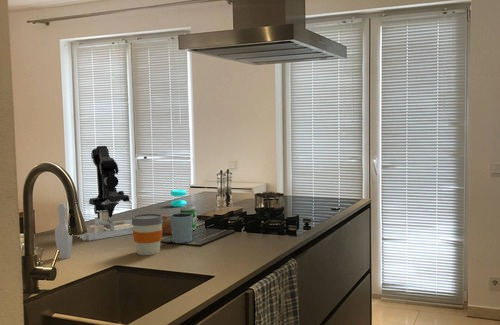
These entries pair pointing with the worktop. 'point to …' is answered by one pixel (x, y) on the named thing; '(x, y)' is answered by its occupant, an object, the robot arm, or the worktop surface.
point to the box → (85, 234)
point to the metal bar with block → (104, 220)
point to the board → (120, 226)
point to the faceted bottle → (63, 233)
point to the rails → (111, 231)
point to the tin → (166, 225)
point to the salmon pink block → (93, 227)
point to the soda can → (191, 210)
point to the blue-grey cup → (181, 227)
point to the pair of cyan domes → (177, 194)
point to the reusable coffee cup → (147, 233)
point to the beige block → (98, 228)
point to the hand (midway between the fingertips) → (110, 217)
